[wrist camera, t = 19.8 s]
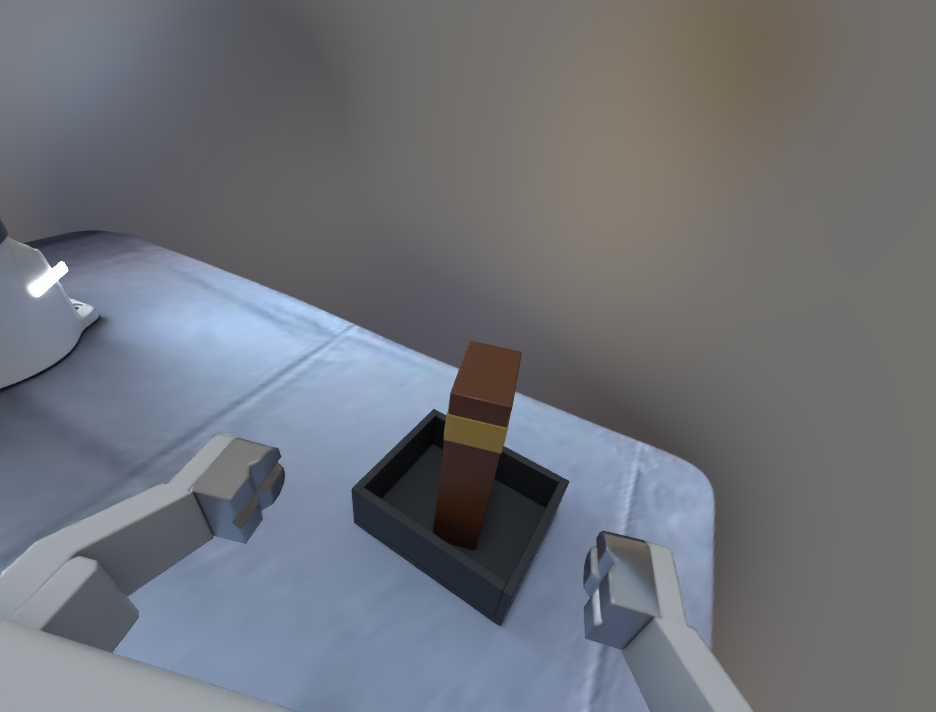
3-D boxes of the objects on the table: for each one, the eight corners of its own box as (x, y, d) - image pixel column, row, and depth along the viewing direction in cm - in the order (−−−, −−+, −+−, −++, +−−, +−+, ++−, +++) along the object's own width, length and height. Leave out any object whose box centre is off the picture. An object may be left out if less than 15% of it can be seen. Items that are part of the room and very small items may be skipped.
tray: (353, 522, 30) (351, 488, 28) (430, 441, 37) (433, 408, 35) (500, 626, 26) (512, 597, 24) (555, 512, 33) (569, 480, 30)
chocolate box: (430, 539, 29) (448, 393, 21) (448, 481, 33) (469, 339, 25) (476, 552, 29) (513, 408, 21) (488, 491, 33) (523, 350, 25)
